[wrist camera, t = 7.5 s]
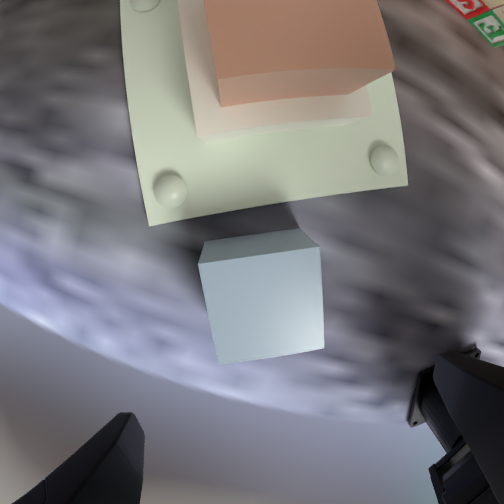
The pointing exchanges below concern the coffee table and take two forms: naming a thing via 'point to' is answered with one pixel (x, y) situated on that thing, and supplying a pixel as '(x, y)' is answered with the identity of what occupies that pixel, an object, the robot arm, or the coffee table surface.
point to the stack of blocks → (484, 17)
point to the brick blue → (263, 295)
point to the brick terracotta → (295, 48)
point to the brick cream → (258, 113)
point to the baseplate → (242, 148)
